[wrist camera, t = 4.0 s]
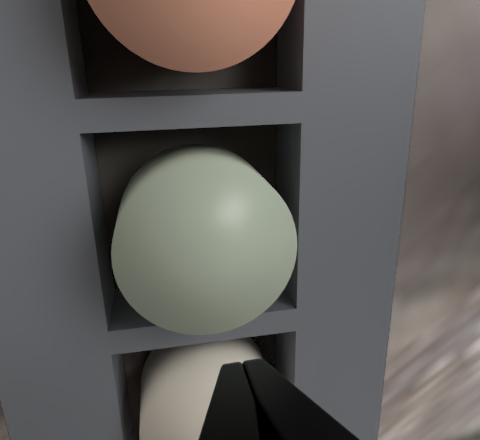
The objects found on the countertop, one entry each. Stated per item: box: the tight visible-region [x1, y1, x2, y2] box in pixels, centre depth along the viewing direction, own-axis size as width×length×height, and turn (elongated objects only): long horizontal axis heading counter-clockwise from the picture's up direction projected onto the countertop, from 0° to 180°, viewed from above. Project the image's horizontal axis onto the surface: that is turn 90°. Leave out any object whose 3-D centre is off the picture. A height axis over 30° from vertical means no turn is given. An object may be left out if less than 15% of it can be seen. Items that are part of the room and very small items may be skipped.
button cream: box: [139, 337, 264, 440], centre depth 19 cm, size 6×6×3 cm
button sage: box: [111, 144, 297, 335], centre depth 15 cm, size 6×6×3 cm
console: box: [0, 0, 426, 440], centre depth 16 cm, size 15×25×3 cm, turn 1°
